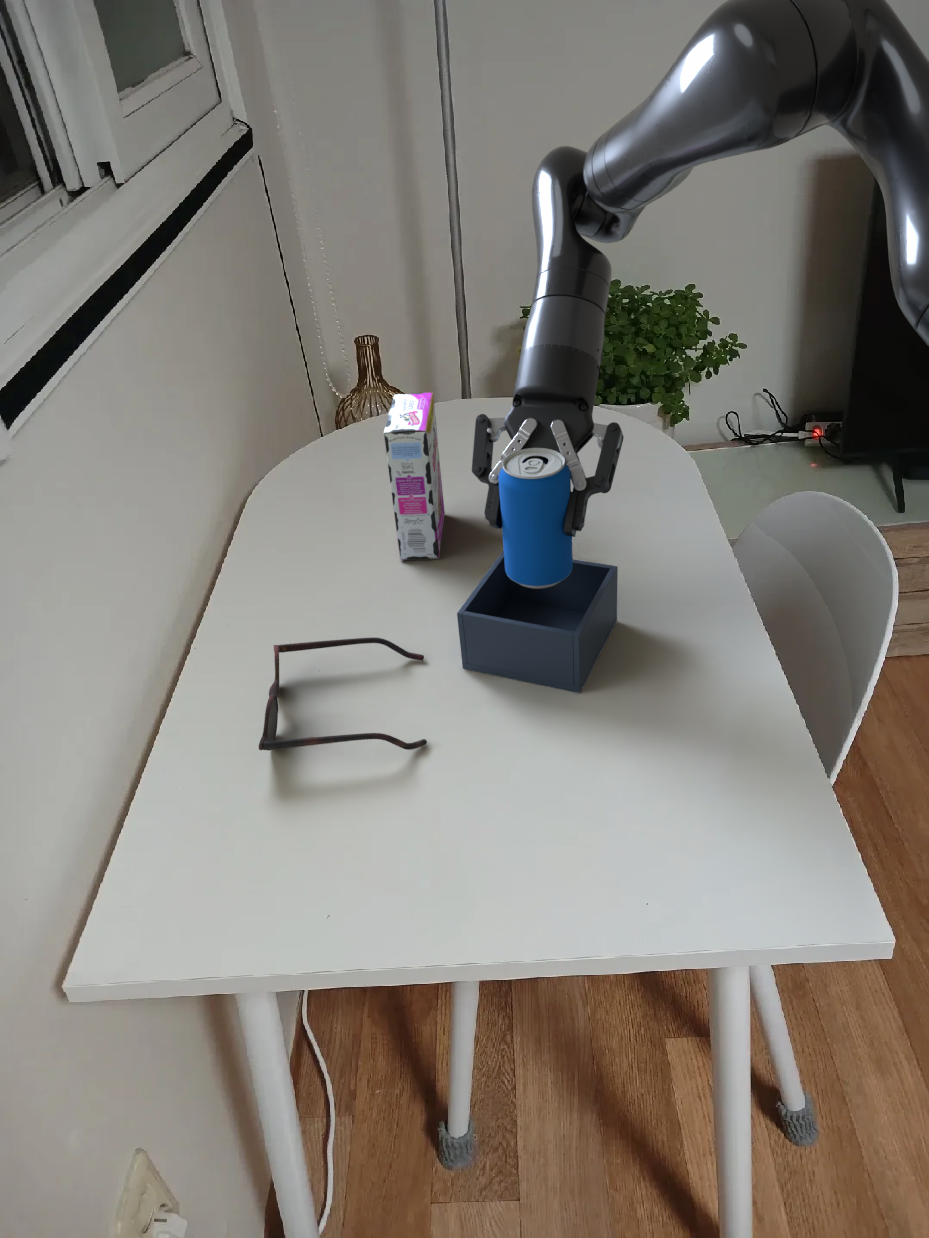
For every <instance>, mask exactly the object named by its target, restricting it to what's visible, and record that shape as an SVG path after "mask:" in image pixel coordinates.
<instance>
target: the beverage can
mask: <svg viewBox="0 0 929 1238" xmlns="http://www.w3.org/2000/svg"><path fill="white" fill-rule="evenodd" d="M531 456H542V457H546V458H547V459H548V460H549V462H548V461H545V460H541V459H537V458H534V459H529V460H526V458H528V457H531ZM502 466H503V467H502V469H501V470H500V473H499V477H498V479H499V492H500V506H501V520H502V528H501V532H502V533H501V534H502V544H503V545H502V546H503V550H504V561H505V572H506V574H507V576H508V577H509V578H510V579H511V580H513V581H514V582H516V583H519V584H520V585H522V586H524V587H528V588H536V589H539V588H547V587H551V586H554V585H556V584H558V583H559V582H560V581H562V580H564V579H565V578H566V577H568V576H569V574H570V573H571V571H572V568H573V562H572V559H573V537H571V536H567V535H566V534H565V533H564V525H565V518H566V512H567V506H568V501H569V496H570V492H572V481H571V477H570V470H569V468H568V466H567V465H566V464H565V458H564V456H563V455H562V454H560V453H559V452H557V451H555V450H551V449H546V448H528V449H523V450H519V451H516V452H514V453H511V454H510V455H508V456H507V457H506V458H505V459H504V460H503V464H502Z"/></svg>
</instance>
